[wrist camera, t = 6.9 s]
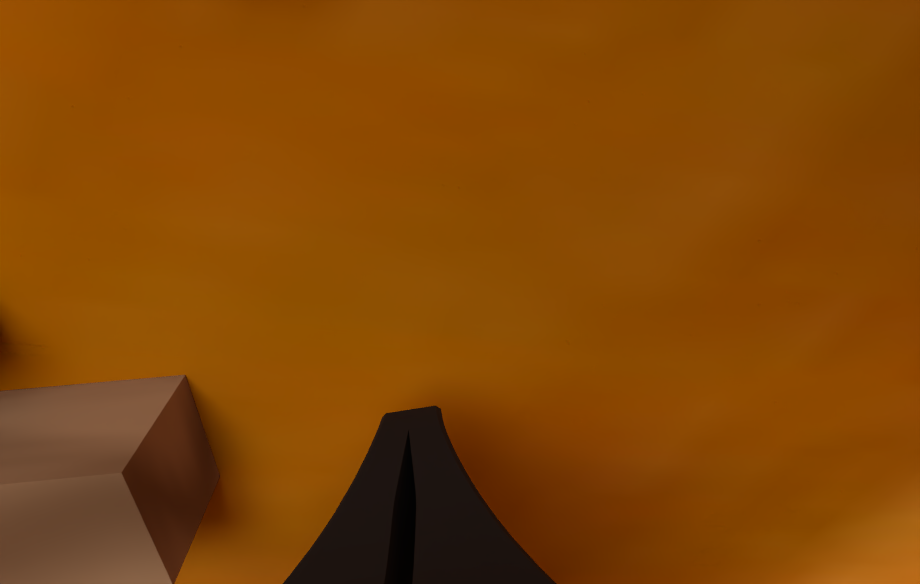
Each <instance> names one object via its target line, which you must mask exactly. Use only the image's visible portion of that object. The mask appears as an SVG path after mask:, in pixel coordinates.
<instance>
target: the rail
mask: <svg viewBox="0 0 920 584" xmlns="http://www.w3.org/2000/svg"><path fill="white" fill-rule="evenodd" d="M219 477H220V475H219V472H218V469H217V466H216V463H215V460H214V457H213V454H212V451H211V448H210V445H209V443H208V440H207V437H206V434H205V431H204V428H203V425H202V422H201V419H200V416H199V413H198V411H197V408H196V405H195V402H194V399H193V396H192V393H191V390H190V387H189V384H188V381H187V379H186V376H185V375H179V376H168V377H156V378H145V379H133V380H122V381H110V382H99V383H87V384H76V385H64V386H53V387H41V388H29V389H18V390H6V391H0V584H174V583H175V581H176V578H177V576H178V573H179V571H180V569H181V566H182V564H183V562H184V559H185V557H186V555H187V552H188V550H189V548H190V545H191V543H192V541H193V538H194V536H195V534H196V531H197V529H198V526H199V524H200V522H201V519H202V517H203V515H204V512H205V510H206V508H207V505H208V503H209V501H210V498H211V496H212V494H213V491H214V489H215V487H216V484H217V482H218V479H219Z"/></svg>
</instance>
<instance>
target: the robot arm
mask: <svg viewBox="0 0 920 584" xmlns="http://www.w3.org/2000/svg"><path fill="white" fill-rule="evenodd" d="M283 584H556V583H555V582H554V581H553V580H552V579H551V578H550V577H549V576H548V575H547V574H546V573H545V572H544V571H543V570H542V569H541V568H540V567H539V566H538V565H537V564H536V563H535V562H534V561H533V560H532V558H531V557H530V556H529V555H528V554H527V553H526V552H525V551H524V550H523V549H522V548H521V546H520V545H519V544H518V543H517V542H516V541H515V540H514V539H513V538H512V536H511V535H510V534H509V533H508V531H507V530H506V529H505V528H504V526H503V525H502V524H501V523H500V522H499V520H498V519H497V518H496V516H495V515H494V514H493V512H492V511H491V510H490V508H489V507H488V505H487V504H486V503H485V501H484V500H483V498H482V497H481V495H480V494H479V492H478V491H477V489H476V488H475V486H474V484H473V483H472V481H471V480H470V478H469V476H468V475H467V473H466V471H465V469H464V468H463V466H462V464H461V462H460V460H459V458H458V456H457V454H456V452H455V450H454V448H453V446H452V444H451V442H450V439H449V437H448V435H447V432H446V429H445V426H444V423H443V419H442V413H441V409H440V408H438V407H437V406H431V407H424V408H418V409H411V410H405V411H398V412H392V413H386V414H385V415H384V416H383V417H382V420H381V422H380V425H379V428H378V430H377V433H376V435H375V437H374V440H373V442H372V444H371V446H370V448H369V451H368V453H367V455H366V457H365V459H364V461H363V463H362V465H361V467H360V469H359V471H358V473H357V475H356V477H355V479H354V480H353V482H352V484H351V486H350V488H349V489H348V491H347V493H346V494H345V496H344V498H343V500H342V501H341V503H340V505H339V506H338V508H337V510H336V511H335V513H334V515H333V516H332V518H331V519H330V521H329V522H328V524H327V525H326V527H325V528H324V530H323V531H322V533H321V534H320V536H319V537H318V539H317V540H316V541H315V543H314V544H313V546H312V547H311V548H310V550H309V551H308V552H307V554H306V555H305V556H304V558H303V559H302V560H301V561H300V563H299V564H298V565H297V567H296V568H295V569H294V570H293V572H292V573H291V574H290V576H289V577H288V578H287V579H286V580H285V582H284V583H283Z"/></svg>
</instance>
